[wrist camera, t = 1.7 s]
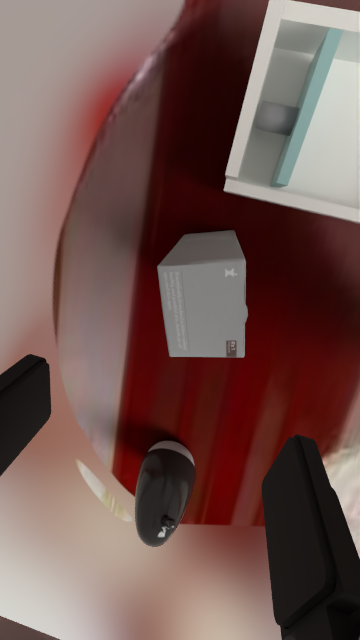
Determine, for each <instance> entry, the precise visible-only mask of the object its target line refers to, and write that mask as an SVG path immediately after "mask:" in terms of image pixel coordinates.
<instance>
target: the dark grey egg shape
mask: <svg viewBox="0 0 360 640" xmlns="http://www.w3.org/2000/svg"><path fill="white" fill-rule="evenodd" d="M195 479H196V469H195V466H194V461H193V458H192V455H191V454H190V452H189V451H188V449H187V448H186V447H184V446H183V445H182V444H180V443H177V442H174V441H162V442H159V443H157V444H155V445H154V446H153V447H151V449H150V450H149V451H148V452H147V453H146V454H145V455H144V457H143V459H142V462H141V465H140V469H139V474H138V479H137V486H136V496H135V522H136V528H137V532H138V535H139V537H140V539H141V540H142V541H143V542H144V543H145V544H146V545H148V546H152V547H157V546H161V545H163V544H164V543H165V542H166V541H167V540H168V539H169V538H170V537H171V535H172V534H173V533H174V531H175V530H176V528H177V526H178V525H179V523H180V521H181V519H182V517H183V515H184V512H185V510H186V508H187V505H188V503H189V500H190V497H191V494H192V491H193V487H194V484H195Z"/></svg>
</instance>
